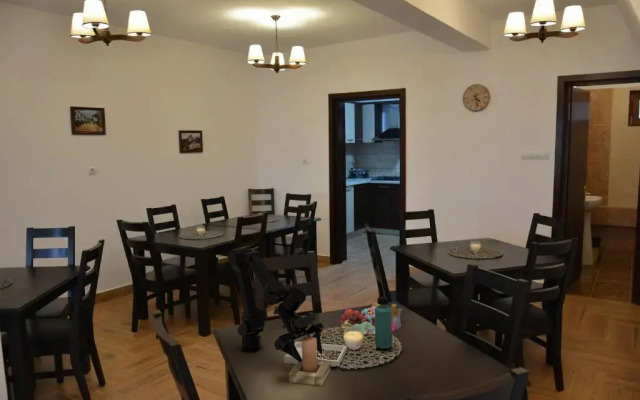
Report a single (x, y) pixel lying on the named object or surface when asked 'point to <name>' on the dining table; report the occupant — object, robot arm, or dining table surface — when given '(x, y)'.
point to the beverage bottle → (383, 324)
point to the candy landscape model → (368, 319)
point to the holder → (309, 374)
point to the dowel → (309, 354)
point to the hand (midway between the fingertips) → (311, 357)
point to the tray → (298, 345)
